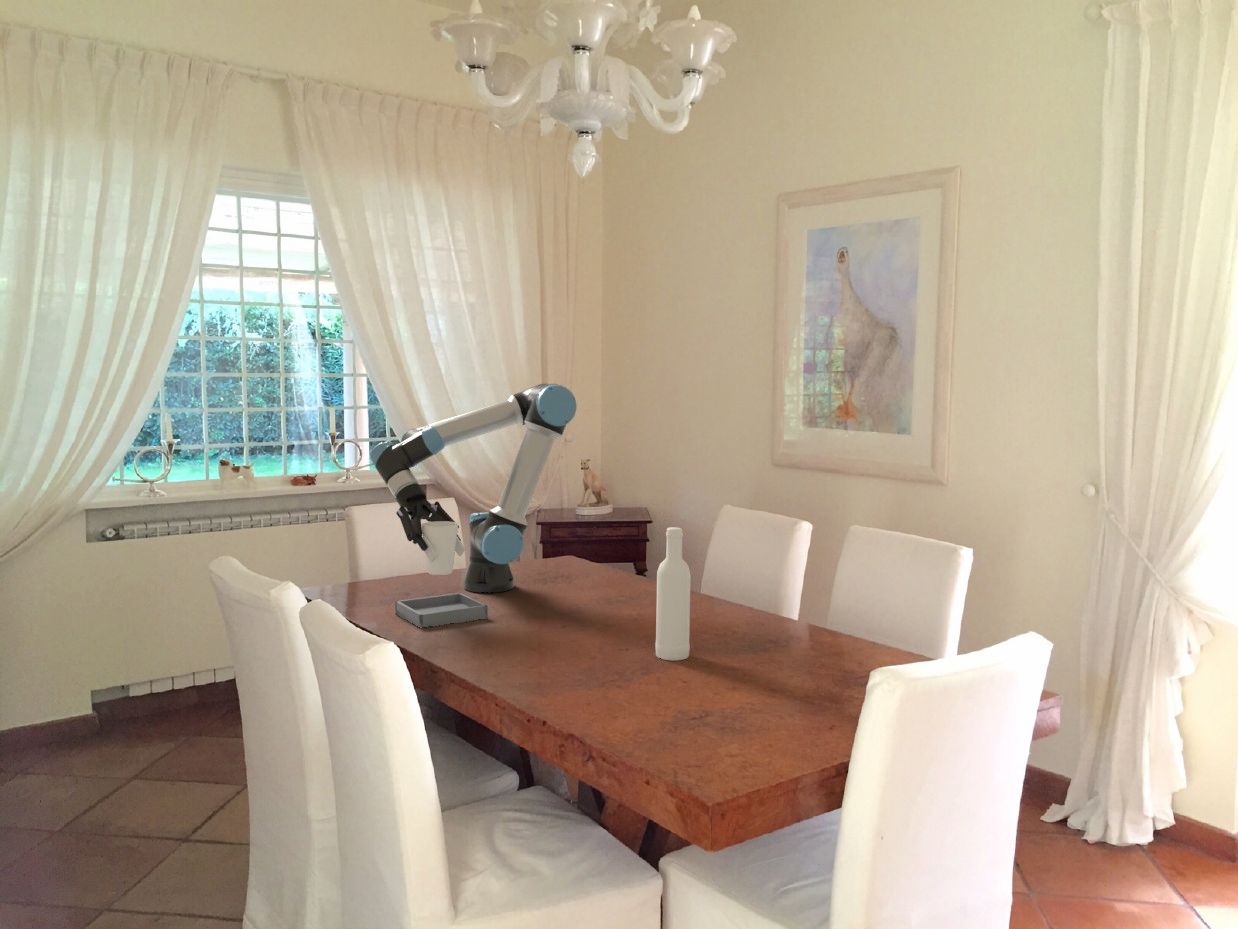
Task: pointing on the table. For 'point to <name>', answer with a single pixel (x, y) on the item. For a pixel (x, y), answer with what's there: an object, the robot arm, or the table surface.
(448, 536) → the foam cup
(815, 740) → the table surface
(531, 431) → the robot arm
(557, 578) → the table surface
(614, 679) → the table surface
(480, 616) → the tray
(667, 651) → the bottle
